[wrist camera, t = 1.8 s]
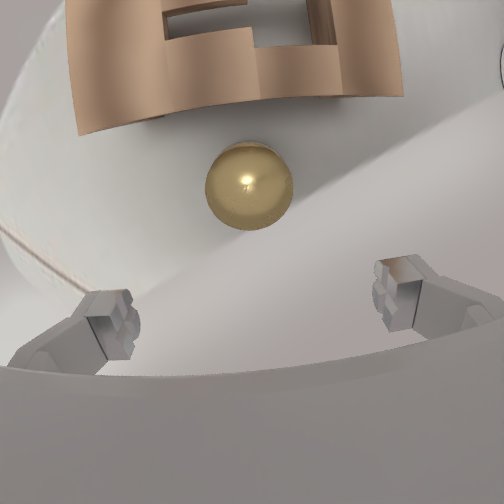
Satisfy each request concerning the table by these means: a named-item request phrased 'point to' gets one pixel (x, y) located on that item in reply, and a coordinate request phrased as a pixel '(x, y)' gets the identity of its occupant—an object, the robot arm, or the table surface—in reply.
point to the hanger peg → (249, 186)
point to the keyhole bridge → (219, 59)
